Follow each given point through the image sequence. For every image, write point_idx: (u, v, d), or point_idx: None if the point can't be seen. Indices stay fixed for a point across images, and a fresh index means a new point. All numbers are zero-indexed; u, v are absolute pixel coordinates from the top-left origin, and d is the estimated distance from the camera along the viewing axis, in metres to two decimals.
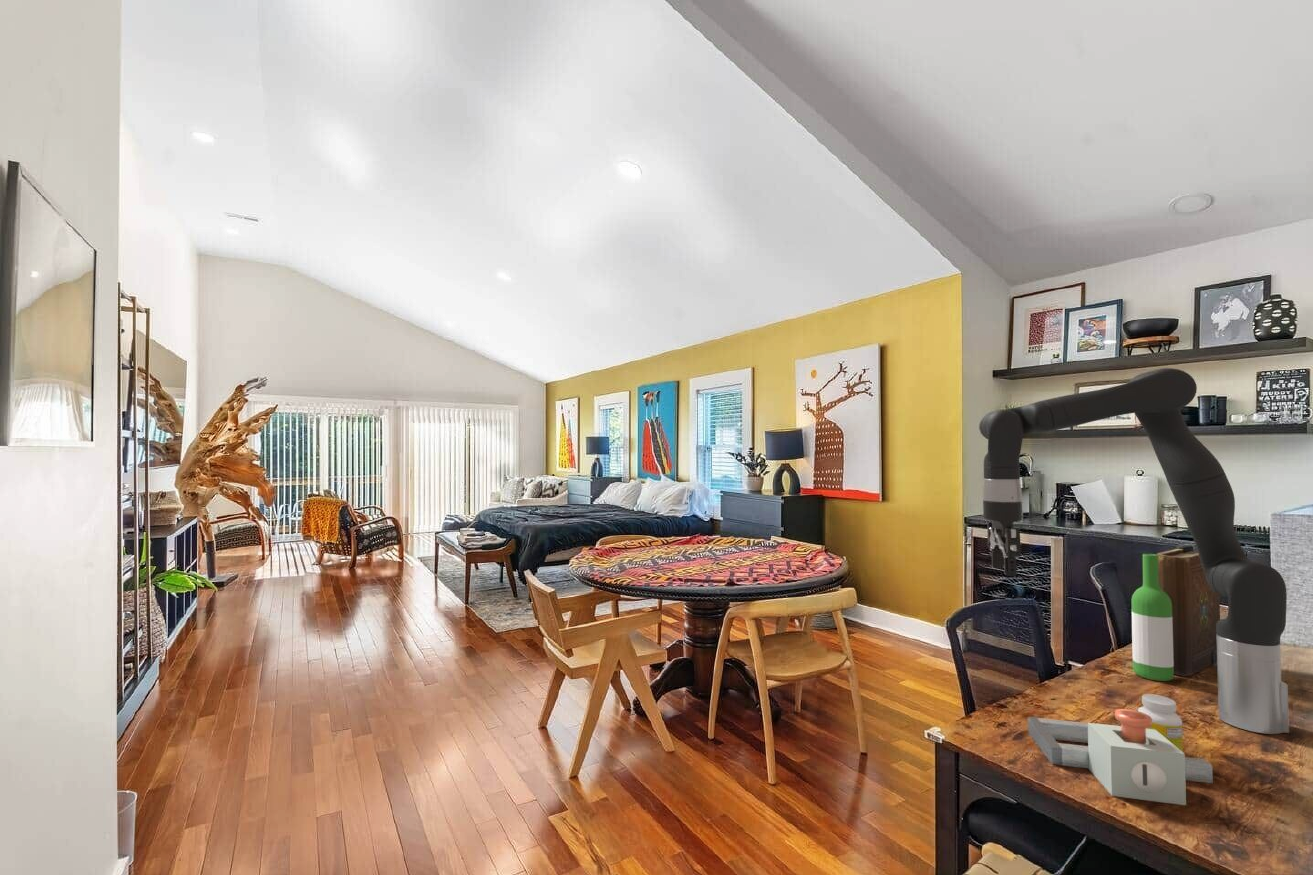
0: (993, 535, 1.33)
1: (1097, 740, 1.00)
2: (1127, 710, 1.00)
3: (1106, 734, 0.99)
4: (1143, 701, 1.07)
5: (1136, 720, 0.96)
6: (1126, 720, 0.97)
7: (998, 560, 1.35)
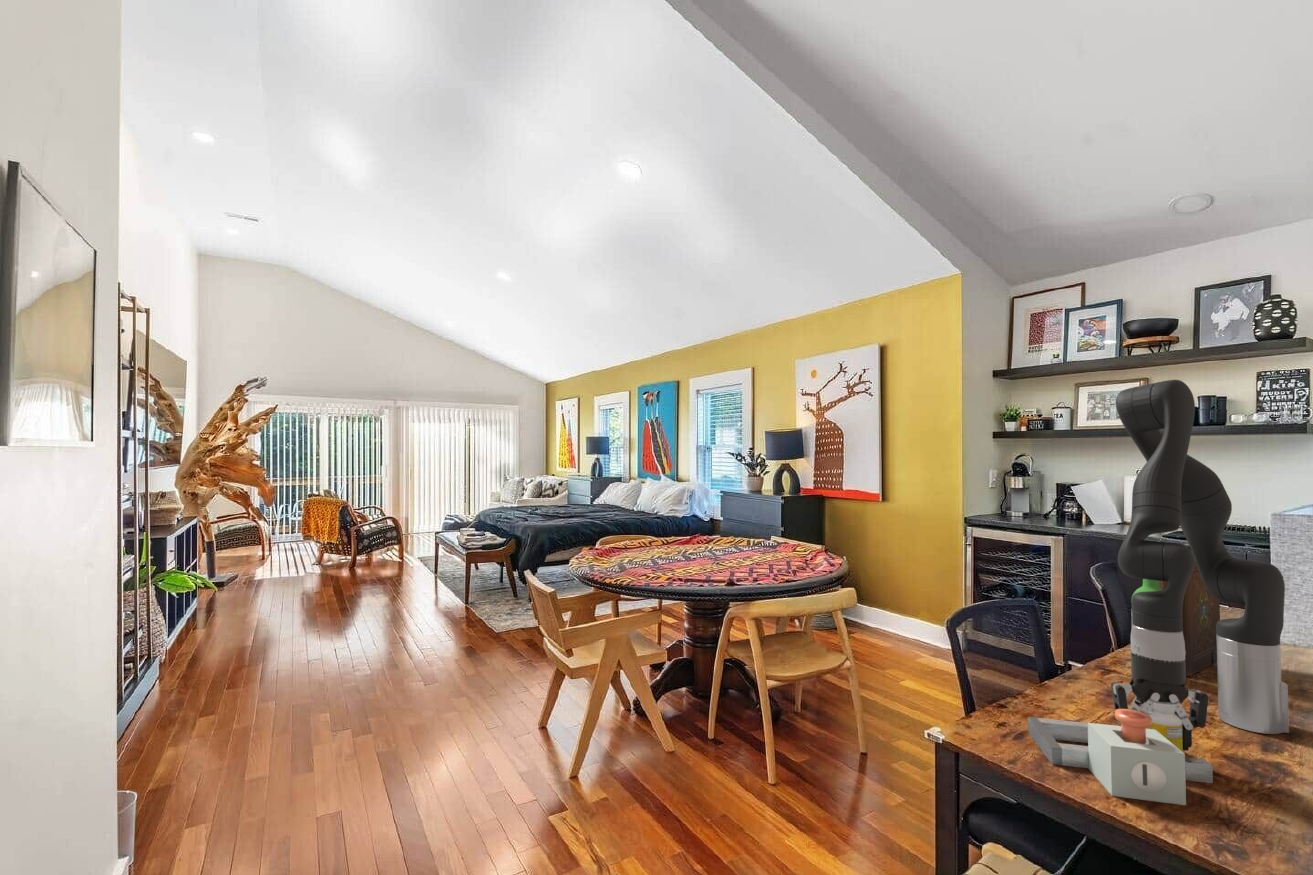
0: None
1: (1097, 740, 1.00)
2: (1127, 710, 1.00)
3: (1106, 734, 0.99)
4: None
5: (1136, 720, 0.96)
6: (1126, 720, 0.97)
7: None
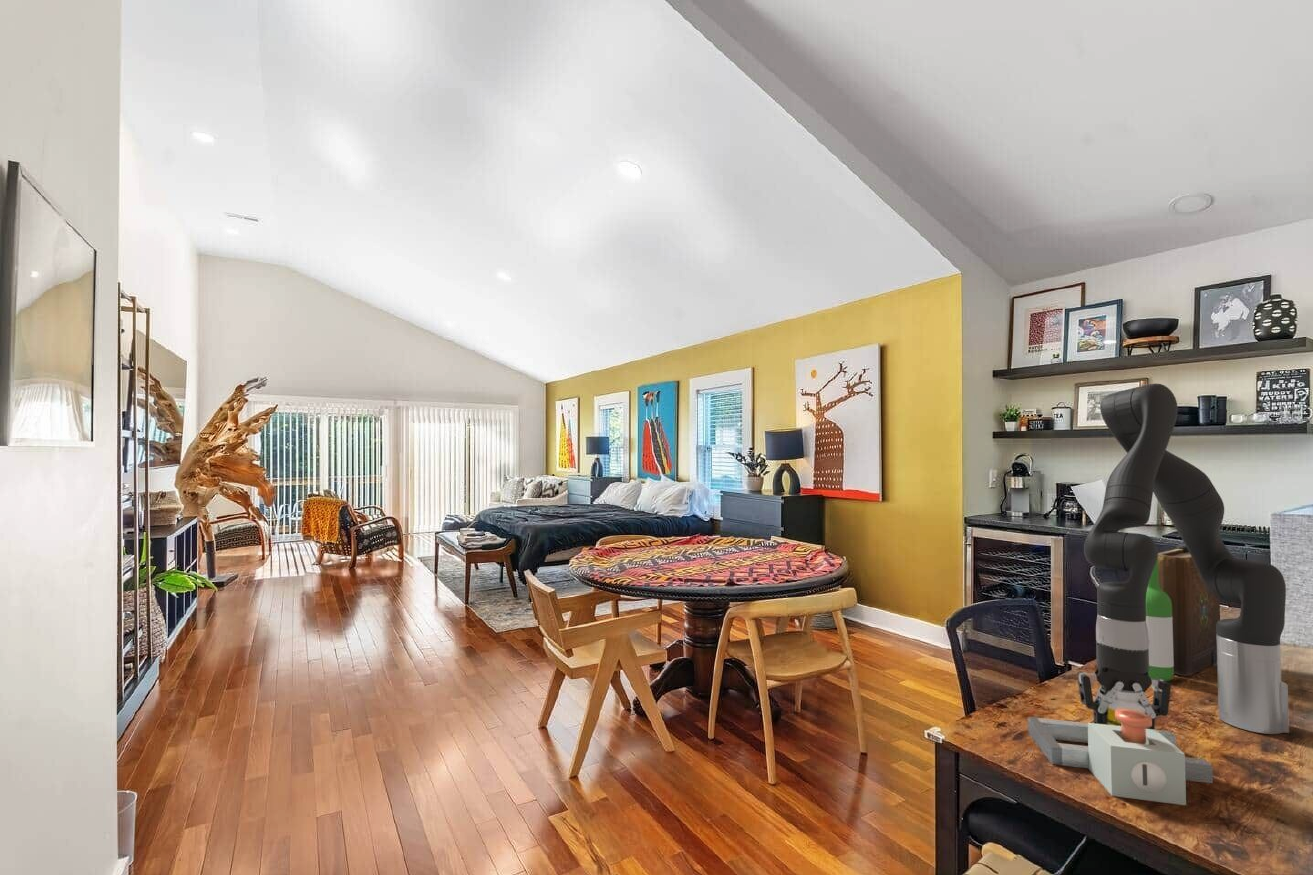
0: None
1: (1097, 740, 1.00)
2: (1127, 710, 1.00)
3: (1106, 734, 0.99)
4: None
5: (1136, 720, 0.96)
6: (1126, 720, 0.97)
7: None
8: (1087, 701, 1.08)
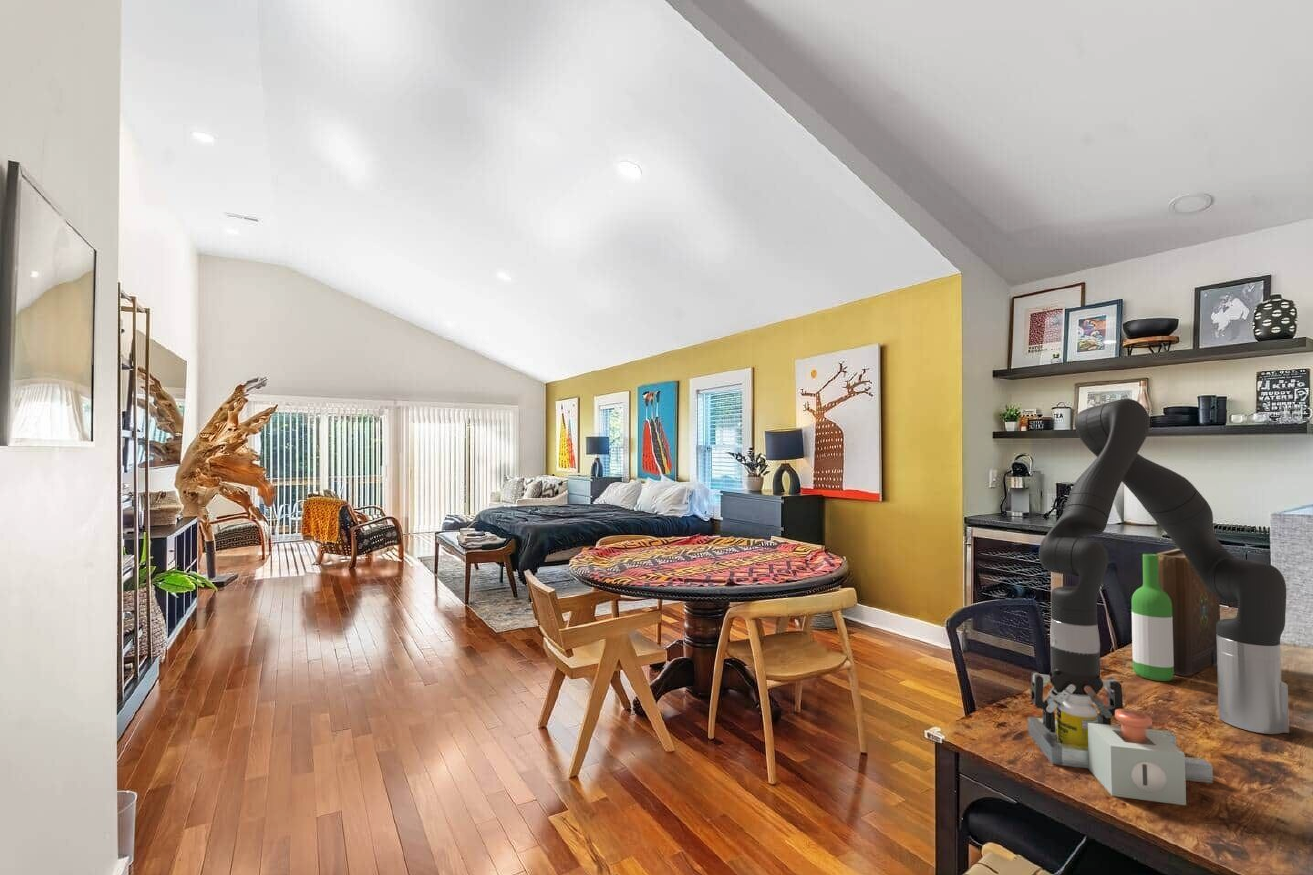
0: None
1: (1097, 740, 1.00)
2: (1127, 710, 1.00)
3: (1106, 734, 0.99)
4: None
5: (1136, 720, 0.96)
6: (1126, 720, 0.97)
7: None
8: (1036, 700, 1.10)
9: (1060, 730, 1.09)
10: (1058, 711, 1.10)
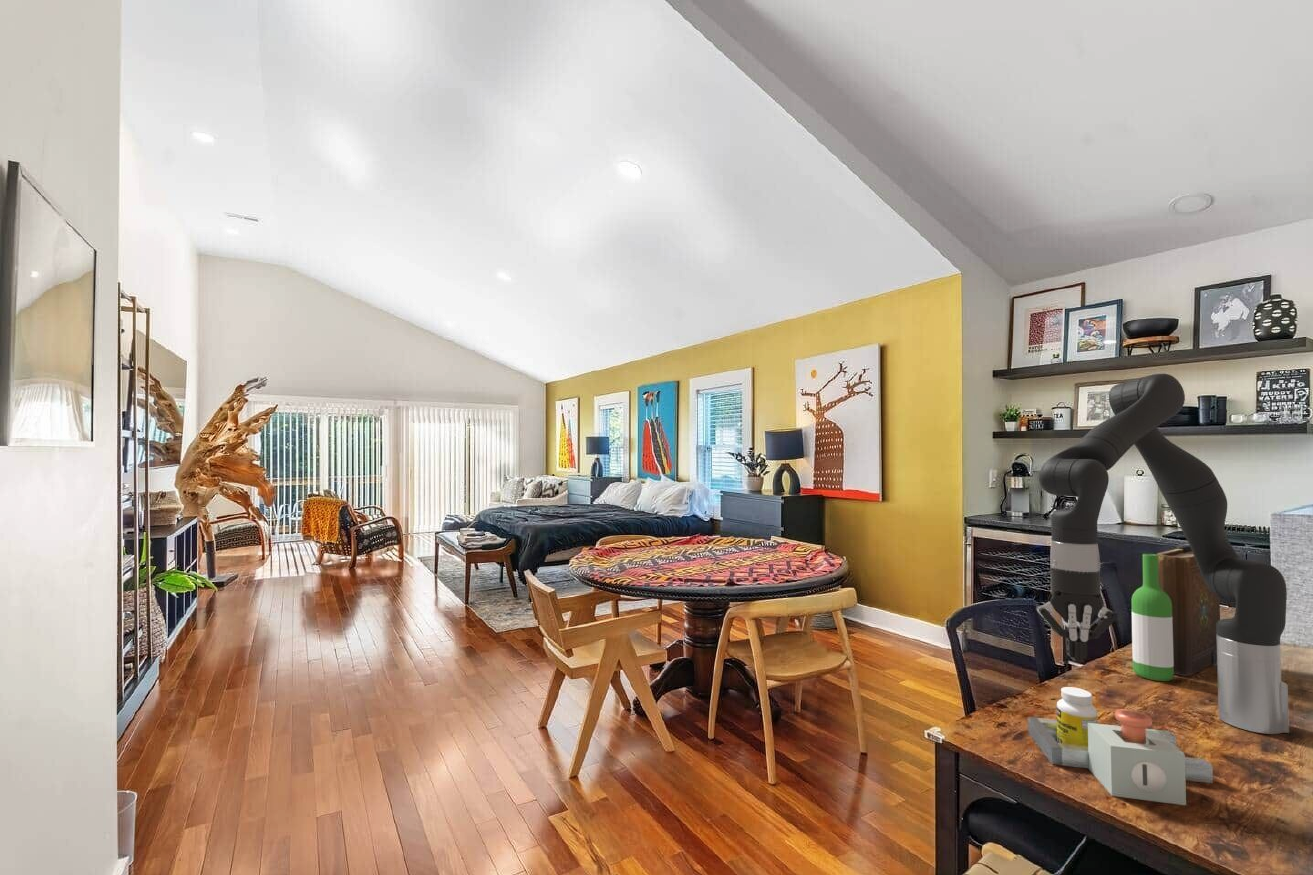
0: None
1: (1097, 740, 1.00)
2: (1127, 710, 1.00)
3: (1106, 734, 0.99)
4: (1061, 693, 1.10)
5: (1136, 720, 0.96)
6: (1126, 720, 0.97)
7: None
8: (1059, 629, 1.09)
9: (1060, 730, 1.09)
10: (1058, 711, 1.10)
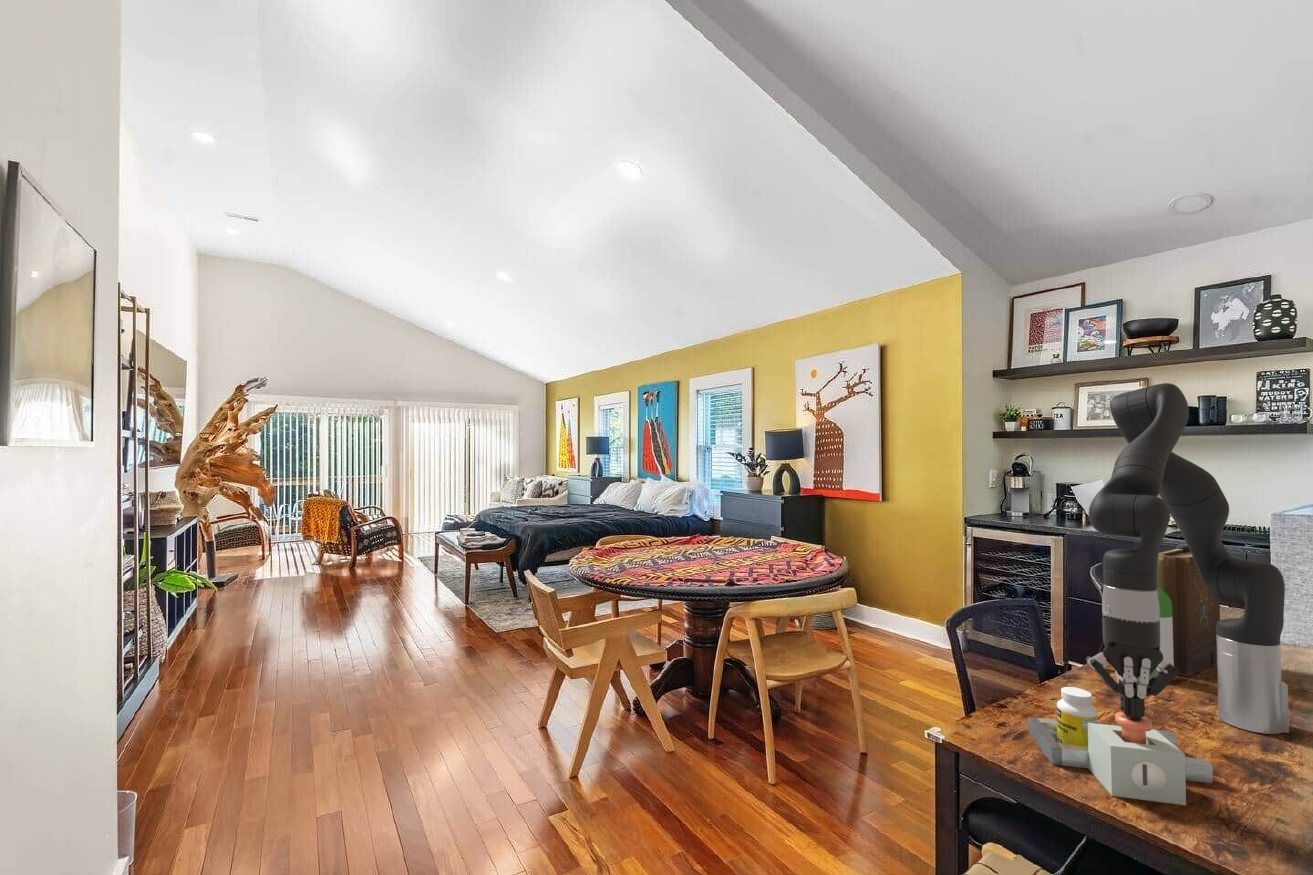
0: None
1: (1097, 740, 1.00)
2: None
3: (1106, 734, 0.99)
4: (1062, 693, 1.10)
5: (1136, 723, 0.96)
6: (1126, 723, 0.97)
7: None
8: (1113, 684, 0.98)
9: (1060, 730, 1.09)
10: (1058, 711, 1.10)
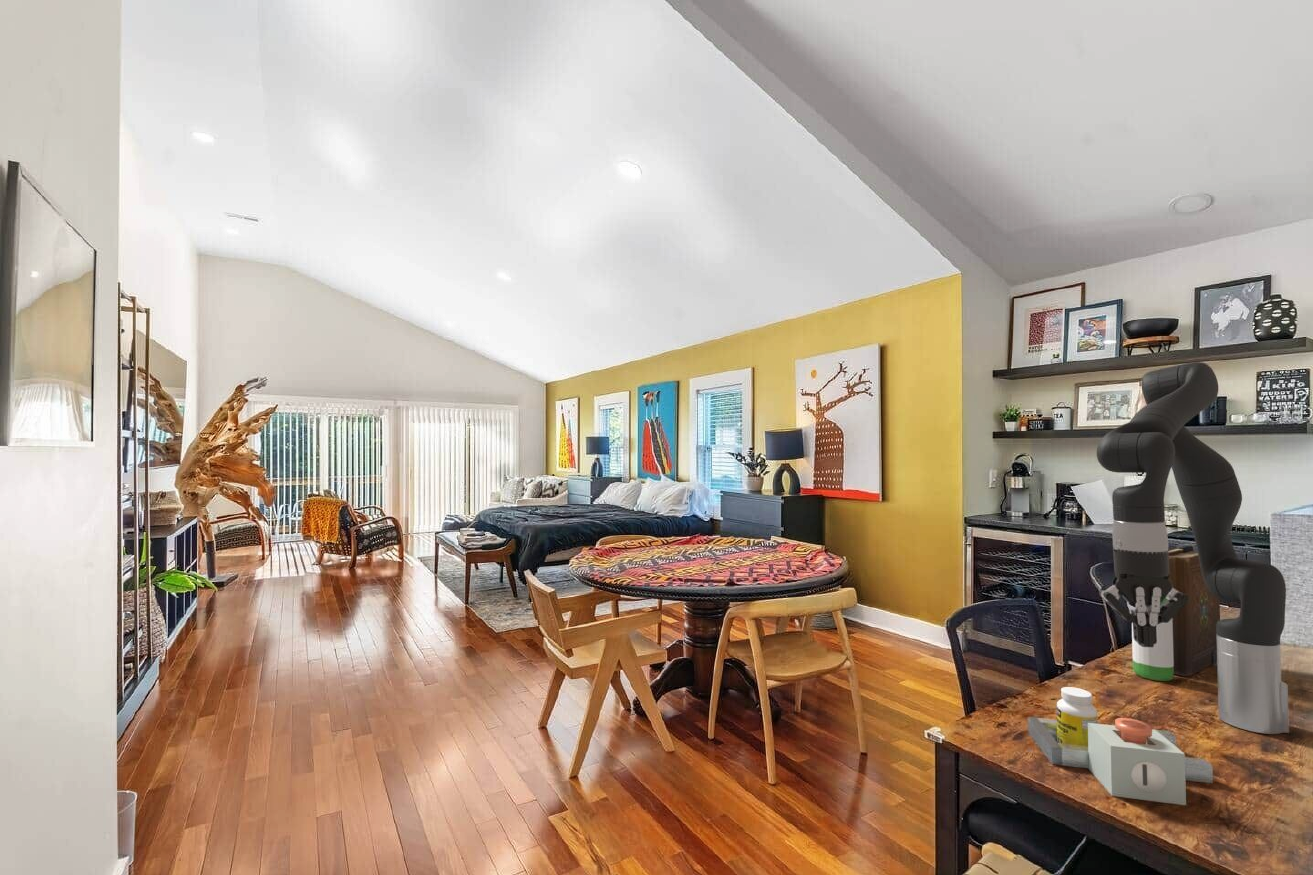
0: None
1: (1097, 740, 1.00)
2: (1127, 719, 1.00)
3: (1106, 734, 0.99)
4: (1062, 693, 1.10)
5: (1136, 730, 0.96)
6: (1126, 730, 0.97)
7: None
8: (1127, 614, 1.03)
9: (1060, 730, 1.09)
10: (1058, 711, 1.10)
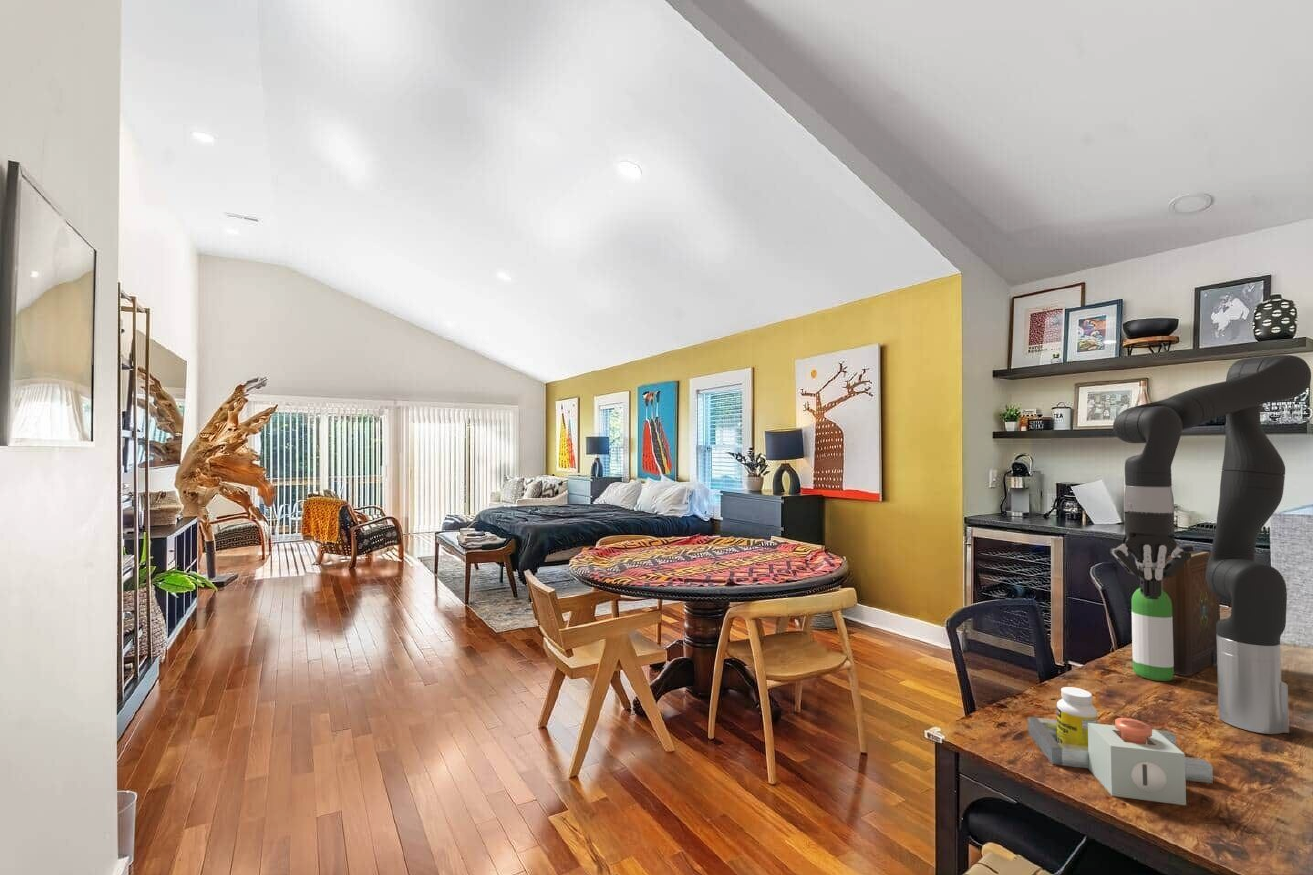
0: None
1: (1097, 740, 1.00)
2: (1127, 719, 1.00)
3: (1106, 734, 0.99)
4: (1062, 693, 1.10)
5: (1136, 730, 0.96)
6: (1126, 730, 0.97)
7: None
8: (1134, 569, 1.14)
9: (1060, 730, 1.09)
10: (1058, 711, 1.10)
